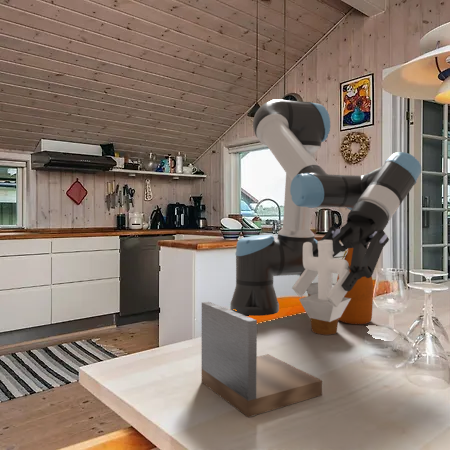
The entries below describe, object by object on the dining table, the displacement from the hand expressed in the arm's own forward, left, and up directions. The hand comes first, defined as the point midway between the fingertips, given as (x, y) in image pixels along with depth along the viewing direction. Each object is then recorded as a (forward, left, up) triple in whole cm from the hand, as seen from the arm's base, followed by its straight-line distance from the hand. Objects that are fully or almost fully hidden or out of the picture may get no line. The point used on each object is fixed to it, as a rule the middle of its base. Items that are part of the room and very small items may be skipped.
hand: (313, 297), depth 79 cm
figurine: (-3, 0, -5) cm, 6 cm away
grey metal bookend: (+19, -2, -12) cm, 23 cm away
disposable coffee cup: (-24, -18, -15) cm, 34 cm away
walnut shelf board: (+12, -1, -15) cm, 19 cm away
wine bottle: (-39, -20, -15) cm, 47 cm away
